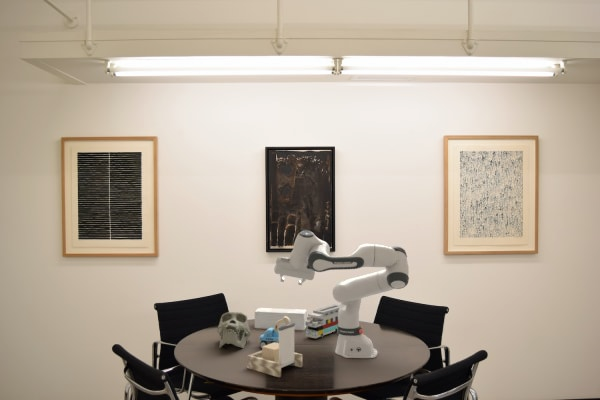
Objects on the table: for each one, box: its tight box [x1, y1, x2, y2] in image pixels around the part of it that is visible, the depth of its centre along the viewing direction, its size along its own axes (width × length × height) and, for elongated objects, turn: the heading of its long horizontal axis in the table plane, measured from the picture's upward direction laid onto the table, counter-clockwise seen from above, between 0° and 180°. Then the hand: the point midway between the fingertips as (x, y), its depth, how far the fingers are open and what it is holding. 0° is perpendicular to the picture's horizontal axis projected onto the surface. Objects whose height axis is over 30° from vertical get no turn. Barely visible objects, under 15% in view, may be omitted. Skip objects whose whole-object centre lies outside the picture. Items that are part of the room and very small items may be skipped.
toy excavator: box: [259, 316, 290, 349], centre depth 267 cm, size 9×17×17 cm, turn 78°
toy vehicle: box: [304, 303, 341, 340], centre depth 293 cm, size 8×30×15 cm, turn 140°
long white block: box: [254, 307, 308, 331], centre depth 309 cm, size 32×11×11 cm, turn 81°
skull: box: [217, 311, 252, 349], centre depth 271 cm, size 18×21×28 cm
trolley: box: [261, 323, 295, 369], centre depth 235 cm, size 14×12×22 cm
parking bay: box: [246, 350, 304, 378], centre depth 236 cm, size 20×18×6 cm
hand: (290, 282), depth 244 cm, fingers open, 8 cm apart
